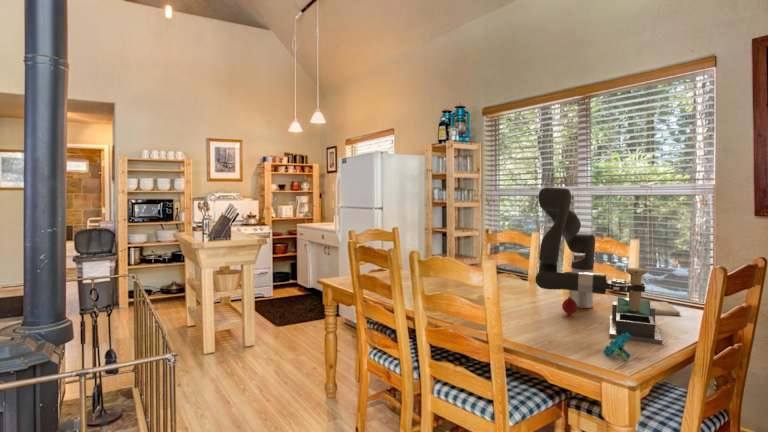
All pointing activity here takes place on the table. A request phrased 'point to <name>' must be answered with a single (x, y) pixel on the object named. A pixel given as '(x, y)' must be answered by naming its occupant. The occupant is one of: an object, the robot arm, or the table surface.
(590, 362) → the table surface
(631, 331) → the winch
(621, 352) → the teal lobed piece
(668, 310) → the washcloth
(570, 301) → the onion
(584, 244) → the robot arm
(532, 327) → the table surface
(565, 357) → the table surface
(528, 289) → the table surface
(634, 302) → the handle
